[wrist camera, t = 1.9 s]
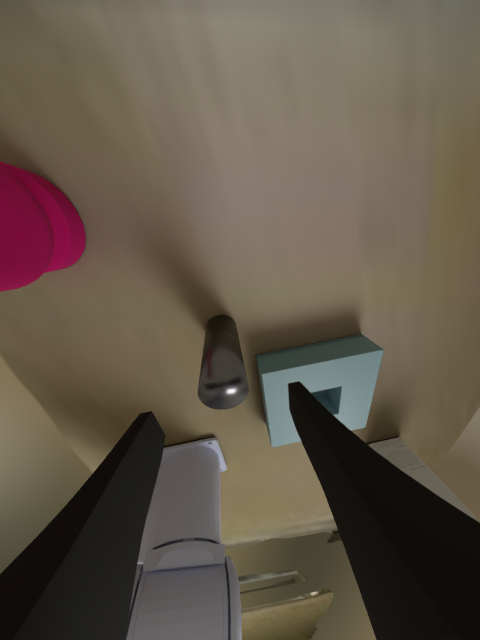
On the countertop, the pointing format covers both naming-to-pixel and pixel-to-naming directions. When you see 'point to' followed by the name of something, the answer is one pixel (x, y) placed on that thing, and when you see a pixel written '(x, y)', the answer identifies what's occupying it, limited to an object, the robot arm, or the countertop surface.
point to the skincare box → (416, 469)
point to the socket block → (320, 382)
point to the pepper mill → (35, 228)
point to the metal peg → (222, 366)
